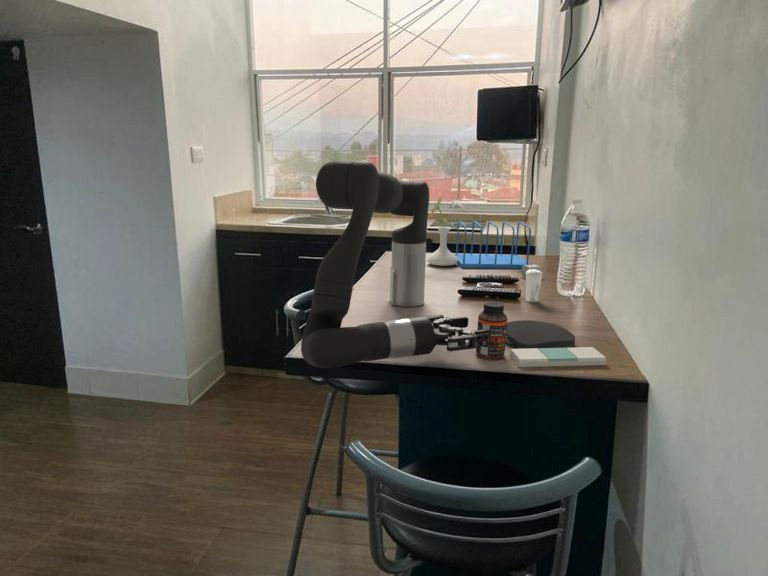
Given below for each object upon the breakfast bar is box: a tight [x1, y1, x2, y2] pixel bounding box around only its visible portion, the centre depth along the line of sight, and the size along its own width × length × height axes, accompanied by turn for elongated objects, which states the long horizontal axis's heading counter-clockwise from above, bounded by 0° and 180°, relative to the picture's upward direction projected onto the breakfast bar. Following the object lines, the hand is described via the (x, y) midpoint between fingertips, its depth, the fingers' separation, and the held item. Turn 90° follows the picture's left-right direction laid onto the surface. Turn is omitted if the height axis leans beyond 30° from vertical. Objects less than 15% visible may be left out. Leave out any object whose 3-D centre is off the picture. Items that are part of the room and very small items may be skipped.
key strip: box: [509, 346, 607, 368], centre depth 112 cm, size 18×6×2 cm, turn 95°
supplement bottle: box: [475, 300, 508, 361], centre depth 113 cm, size 6×6×11 cm
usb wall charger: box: [516, 264, 541, 279], centre depth 182 cm, size 4×7×4 cm, turn 110°
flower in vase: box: [426, 196, 458, 267], centre depth 196 cm, size 13×11×25 cm
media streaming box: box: [505, 319, 576, 349], centre depth 123 cm, size 15×15×3 cm
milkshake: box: [525, 267, 547, 303], centre depth 154 cm, size 5×5×10 cm
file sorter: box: [453, 220, 532, 270], centre depth 202 cm, size 25×17×15 cm
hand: (477, 327), depth 111 cm, fingers open, 8 cm apart
